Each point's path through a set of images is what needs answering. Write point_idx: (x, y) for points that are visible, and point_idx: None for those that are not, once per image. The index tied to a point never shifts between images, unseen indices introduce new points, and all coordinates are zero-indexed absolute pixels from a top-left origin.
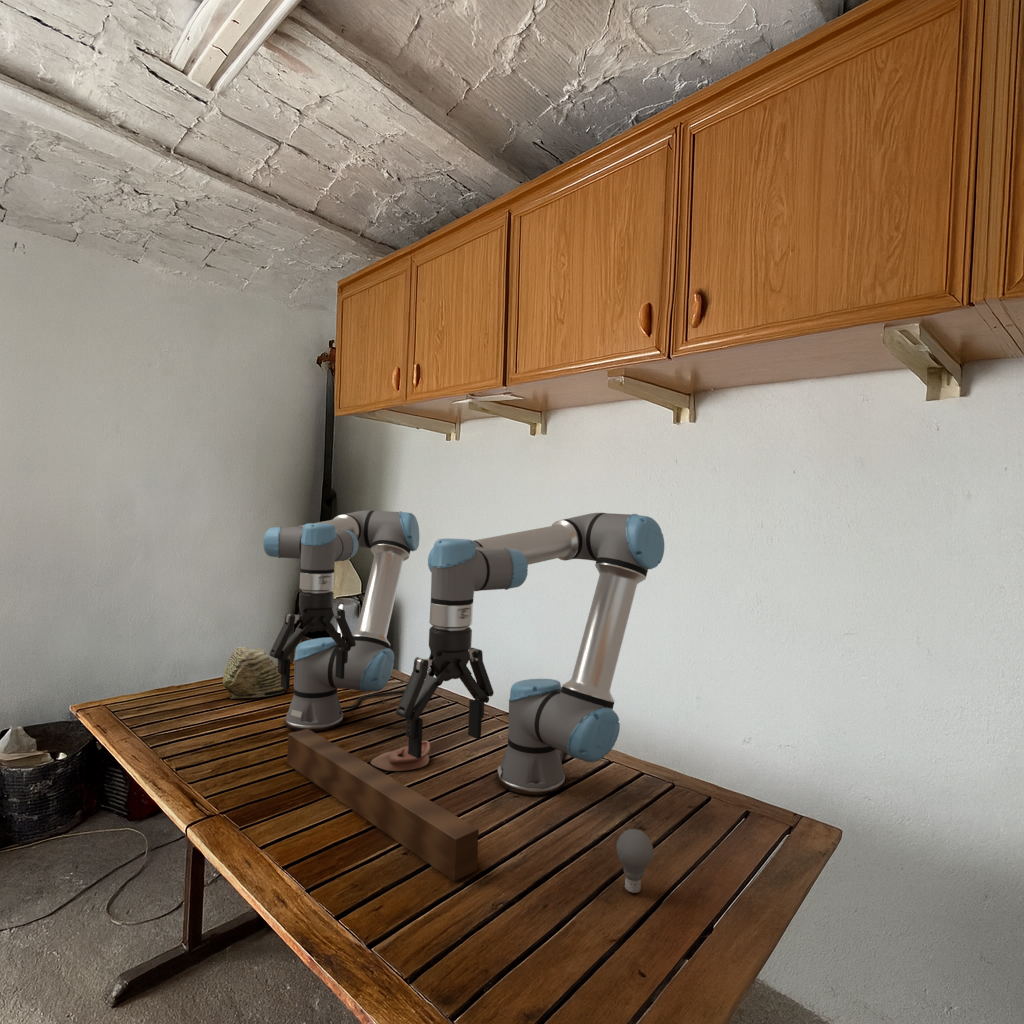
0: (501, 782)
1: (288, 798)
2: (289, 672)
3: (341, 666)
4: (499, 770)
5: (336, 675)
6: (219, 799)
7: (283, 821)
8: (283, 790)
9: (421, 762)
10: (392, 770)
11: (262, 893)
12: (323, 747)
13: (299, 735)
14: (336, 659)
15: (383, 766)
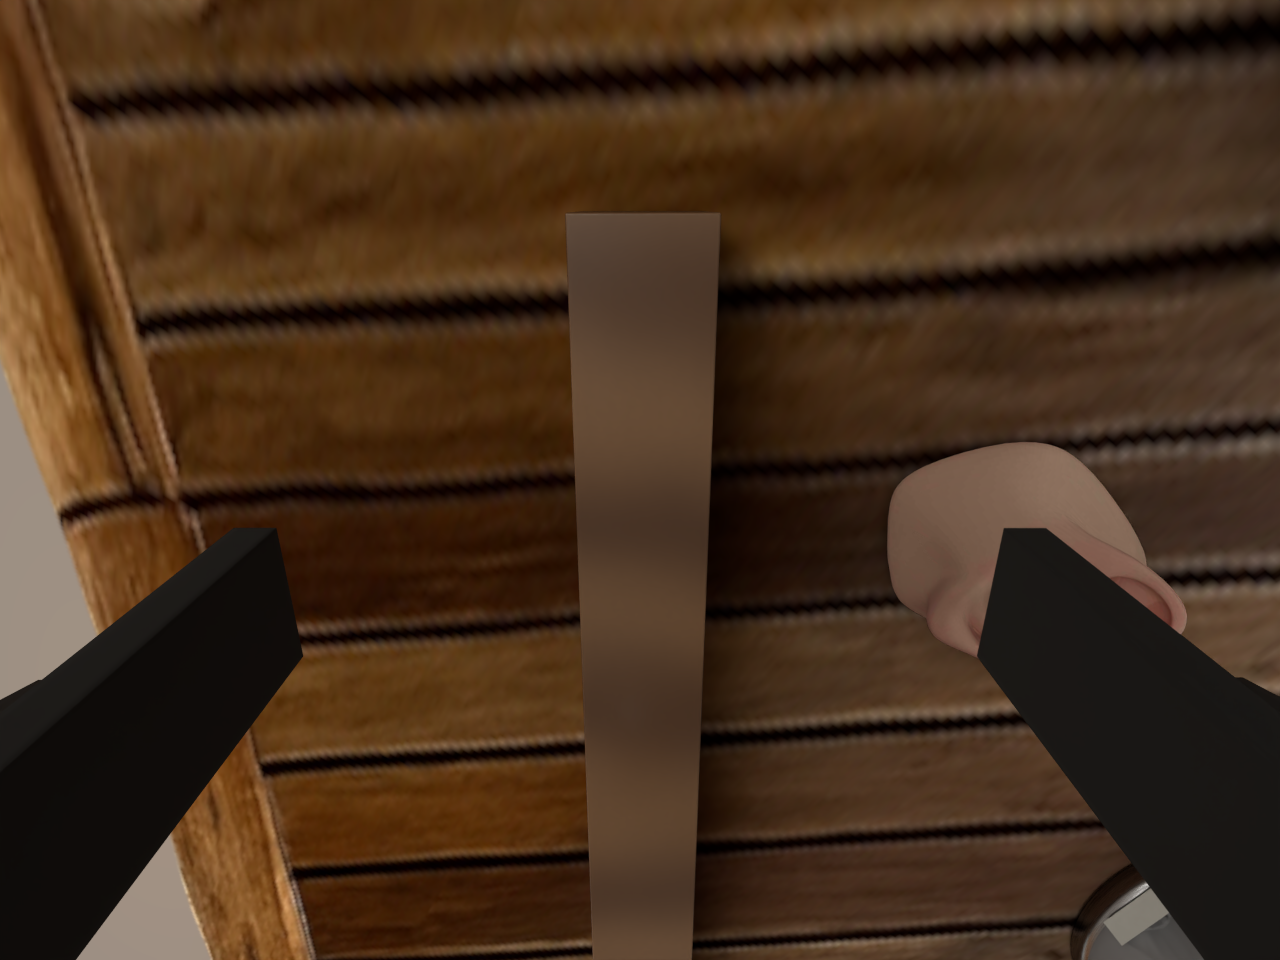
0: (1095, 909)
1: (446, 549)
2: (179, 809)
3: (1067, 766)
4: (1142, 911)
5: (1007, 561)
6: (194, 384)
7: (371, 682)
8: (455, 474)
9: None
10: (910, 608)
11: (219, 923)
12: (635, 554)
13: (611, 298)
14: (1162, 689)
15: (900, 573)
